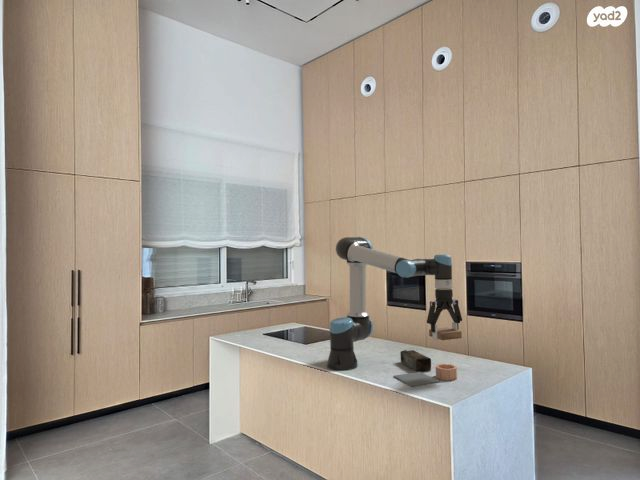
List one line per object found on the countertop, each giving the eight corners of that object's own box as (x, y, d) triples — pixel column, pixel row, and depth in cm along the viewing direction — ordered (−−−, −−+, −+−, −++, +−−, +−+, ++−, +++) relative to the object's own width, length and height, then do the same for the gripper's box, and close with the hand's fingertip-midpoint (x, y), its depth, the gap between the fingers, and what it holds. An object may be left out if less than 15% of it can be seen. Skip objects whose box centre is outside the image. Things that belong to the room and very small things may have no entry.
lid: (429, 336, 194) (429, 329, 194) (447, 334, 197) (447, 327, 197) (442, 340, 184) (442, 333, 184) (461, 338, 188) (461, 331, 188)
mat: (393, 376, 193) (393, 375, 193) (420, 373, 198) (420, 371, 198) (411, 386, 179) (411, 385, 179) (439, 382, 184) (439, 380, 184)
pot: (432, 375, 193) (432, 365, 193) (448, 373, 196) (448, 363, 196) (444, 381, 185) (444, 370, 185) (461, 378, 188) (460, 367, 188)
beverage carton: (414, 361, 220) (414, 348, 220) (432, 371, 201) (431, 357, 201) (400, 362, 218) (399, 349, 218) (416, 373, 199) (416, 359, 199)
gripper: (427, 290, 184) (428, 342, 183) (469, 288, 192) (471, 337, 191) (417, 289, 191) (418, 339, 191) (459, 286, 199) (460, 334, 198)
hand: (445, 338), depth 191 cm, fingers closed on lid, 10 cm apart
